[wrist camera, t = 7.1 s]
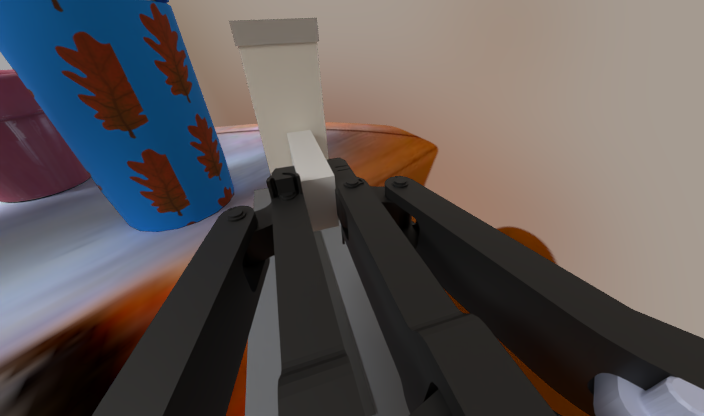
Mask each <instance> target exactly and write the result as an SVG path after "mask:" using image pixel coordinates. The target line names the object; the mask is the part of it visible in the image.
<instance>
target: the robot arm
mask: <svg viewBox="0 0 704 416" xmlns="http://www.w3.org/2000/svg"><path fill="white" fill-rule="evenodd" d="M287 138H288V143H289V148H290V154H291V159H292V164H293V166H288V167H282V168H276V169H274V171H273V172H272V173H271V174H272V175H271V176H270V177H269V178H268V179H267V181H266V182H267V186H268V190H269V193H270V197H271V203H270V204H269V205H268V206H266V207H265V208H263V209H260V210H258V211H254V210H253V208H251V207H249V206H238V207H233V208H230V209H228V210H226V211H225V212H223V213H222V214H221V215H220V216H219V217H218V219H217V220H216V222H215V224H214V225H213V227H212V228H211V230H210V231H209V233H208V235H207V236H206V238H205V239H204V241H203V242H202V244H201V246H200V247H199V249H198V250H197V252H196V253H195V255H194V256H193V258H192V260H191V261H190V263H189V264H188V266H187V267H186V269H185V271H184V272H183V274H182V275H181V277H180V278H179V280H178V282H177V283H176V285H175V286H174V288H173V289H172V291H171V292H170V294H169V296H168V297H167V299H166V300H165V302H164V303H163V305H162V307H161V308H160V310H159V311H158V313H157V314H156V316H155V318H154V319H153V321H152V322H151V324H150V325H149V327H148V328H147V330H146V332H145V333H144V335H143V336H142V338H141V339H140V341H139V343H138V344H137V346H136V347H135V349H134V350H133V352H132V354H131V355H130V357H129V358H128V360H127V361H126V363H125V364H124V366H123V368H122V369H121V371H120V372H119V374H118V375H117V377H116V379H115V380H114V382H113V383H112V385H111V386H110V388H109V390H108V391H107V393H106V394H105V396H104V397H103V399H102V400H101V402H100V404H99V405H98V407H97V408H96V410H95V411H94V413H93V415H92V416H226V412H227V409H228V405H229V402H230V398H231V395H232V391H233V388H234V384H235V381H236V378H237V374H238V371H239V367H240V364H241V360H242V357H243V353H244V350H245V346H246V343H247V340H248V336H249V333H250V329H251V326H252V322H253V319H254V315H255V312H256V308H257V305H258V301H259V298H260V295H261V291H262V288H263V284H264V281H265V277H266V274H267V270H268V267H269V263H270V257H272V256H274V255H275V271H276V287H277V304H278V320H279V336H280V352H281V375H280V377H279V379H278V416H365V413H364V410H363V406H362V402H361V399H360V395H359V391H358V388H357V384H356V380H355V377H354V373H353V370H352V366H351V363H350V360H349V357H348V355H347V353H346V351H345V348H344V344H343V341H342V337H341V333H340V330H339V326H338V322H337V318H336V315H335V311H334V307H333V304H332V300H331V296H330V292H329V289H328V285H327V281H326V277H325V274H324V270H323V266H322V262H321V259H320V255H319V251H318V248H317V244H316V240H315V236H314V233H313V232H314V231H319V230H323V229H328V228H333V227H337V226H339V220H340V223H341V232H342V243H343V244H345V242H346V245H347V247H348V250H349V252H350V255H351V257H352V260H353V262H354V264H355V267H356V269H357V272H358V274H359V277H360V279H361V282H362V284H363V287H364V289H365V292H366V294H367V297H368V299H369V302H370V304H371V307H372V309H373V311H374V314H375V316H376V319H377V321H378V324H379V326H380V329H381V331H382V334H383V336H384V339H385V341H386V344H387V346H388V349H389V351H390V354H391V356H392V359H393V361H394V363H395V366H396V368H397V371H398V373H399V376H400V379H401V382H402V387H403V392H404V397H405V400H406V404H407V407H408V410H409V412H410V415H409V416H561V415H560V414H558V413H556V412H555V411H553V410H552V409H551V408H550V406H549V405H548V404H547V403H546V401H545V400H544V399H543V397H542V396H541V395H540V394H539V392H538V391H537V390H536V388H535V387H534V386H533V385H532V383H531V382H530V381H529V379H528V378H527V377H526V375H525V374H524V373H523V372H522V370H521V369H520V368H519V366H518V365H517V364H516V363H515V361H514V360H513V359H512V357H511V356H510V355H509V354H508V352H507V351H506V350H505V348H504V347H503V346H502V345H501V343H500V342H499V341H498V339H499V340H500V341H501V342H502V343H503V344H504V345H505V346H506V347H507V348H508V349H509V350H510V351H511V352H513V353H514V354H515V355H516V356H517V357H518V358H519V359H520V360H521V361H522V362H523V363H524V364H525V365H527V366H528V367H529V368H530V369H531V370H532V371H533V372H534V373H535V374H537V375H538V376H539V377H540V378H541V379H542V380H543V381H545V382H546V383H547V384H548V385H549V386H550V387H552V388H553V389H554V390H555V391H557V392H558V393H559V394H561V395H562V396H563V397H565V398H566V399H567V400H569V401H570V402H571V403H572V404H574V405H575V406H577V407H578V408H580V409H581V410H583V411H584V412H586V413H587V414H589V415H590V416H704V339H703V338H701V337H699V336H696V335H693V334H691V333H689V332H686V331H683V330H681V329H679V328H677V327H674V326H672V325H669V324H667V323H664V322H662V321H659V320H657V319H655V318H652V317H650V316H647V315H645V314H642V313H640V312H637V311H635V310H633V309H631V308H629V307H627V306H626V305H624V304H622V303H621V302H619V301H617V300H616V299H614V298H612V297H610V296H609V295H607V294H605V293H604V292H602V291H600V290H599V289H597V288H595V287H593V286H592V285H590V284H589V283H587V282H585V281H583V280H582V279H580V278H578V277H577V276H575V275H573V274H572V273H570V272H568V271H566V270H565V269H563V268H561V267H560V266H558V265H556V264H555V263H553V262H551V261H549V260H548V259H546V258H544V257H543V256H541V255H539V254H538V253H536V252H534V251H533V250H531V249H529V248H527V247H526V246H524V245H522V244H521V243H519V242H517V241H516V240H514V239H512V238H510V237H509V236H507V235H505V234H504V233H502V232H500V231H499V230H497V229H495V228H493V227H492V226H490V225H488V224H487V223H485V222H483V221H481V220H480V219H478V218H477V217H475V216H473V215H471V214H470V213H468V212H466V211H465V210H463V209H461V208H459V207H458V206H456V205H454V204H453V203H451V202H449V201H447V200H446V199H444V198H443V197H441V196H439V195H437V194H436V193H434V192H432V191H431V190H429V189H427V188H426V187H424V186H422V185H421V184H419V183H417V182H415V181H414V180H412V179H410V178H407V177H403V176H395V177H391V178H389V179H387V180H386V181H385V187H372V186H369V185H368V183H367V182H366V181H365V180H364V179H362V178H359V177H356V176H355V174H354V173H353V171H352V170H351V168H350V167H349V166H348V164H347V162H346V161H345V160H343V159H341V158H334V159H328V160H326V158H325V157H324V155H323V153H322V151H321V149H320V147H319V145H318V143H317V141H316V139H315V137H314V136H313V134H312V132H311V130H305V131H298V132H290V133H287ZM412 216H413V217H414V218H415V219H416V223H414V222H413V221H411V217H412ZM338 218H339V219H338ZM442 287H443V288H444V289H445V290H446V291H447V292H448V293H449V294H450V295H451V296H452V297H453V298H454V299H455V300H457V301H458V302H459V303H460V304H461V305H462V306H463V307H464V308H465V309H466V310H467V311H468V312H469V313H471V314H464V313H462V312H461V311H459V309H458V308H457V307H456V306H455V304H454V303H453V302H452V300H451V299H450V297H449V296H448V295H447V293H446V292H445V290H444V289H443V288H442Z"/></svg>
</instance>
